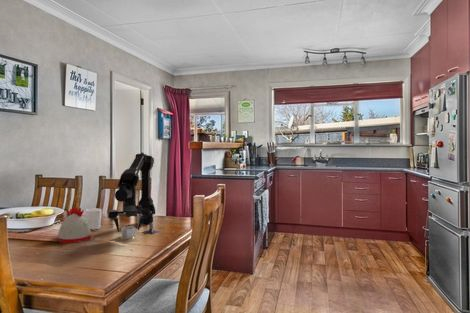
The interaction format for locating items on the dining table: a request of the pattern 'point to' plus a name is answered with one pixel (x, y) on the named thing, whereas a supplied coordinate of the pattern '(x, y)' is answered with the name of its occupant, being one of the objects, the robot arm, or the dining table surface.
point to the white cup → (93, 218)
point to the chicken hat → (74, 227)
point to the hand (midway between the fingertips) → (128, 230)
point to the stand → (150, 230)
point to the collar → (128, 232)
